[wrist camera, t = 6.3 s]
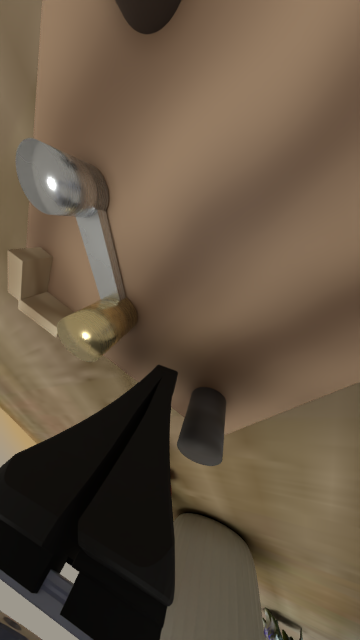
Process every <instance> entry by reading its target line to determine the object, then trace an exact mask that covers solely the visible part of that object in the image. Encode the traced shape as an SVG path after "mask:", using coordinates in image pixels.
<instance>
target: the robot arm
mask: <svg viewBox="0 0 360 640" xmlns="http://www.w3.org/2000/svg"><path fill="white" fill-rule="evenodd" d="M177 376H178V372H177V371H175V370H172V369H170V368H167V367H164V366H162V365H157V366H156V367H155V368H154V369H153V370H152V371H151V372H150V373H149V374H148V375H147V376H145V377H144V378H143V379H142V380H141V381H140V382H138V383H137V384H136V385H135V386H134V387H132V388H131V389H130V390H129V391H127V392H126V393H125V394H123V395H122V396H121V397H119V398H118V399H117V400H115V401H114V402H112V403H111V404H109V405H108V406H106V407H105V408H103V409H102V410H100V411H99V412H97V413H95V414H94V415H92V416H90V417H89V418H87V419H85V420H83V421H82V422H80V423H78V424H76V425H74V426H73V427H71V428H69V429H67V430H65V431H63V432H61V433H59V434H57V435H55V436H53V437H51V438H49V439H47V440H45V441H43V442H41V443H39V444H36V445H34V446H32V447H30V448H28V449H26V450H23V451H21V452H19V453H17V454H15V455H14V456H13V457H12V458H11V459H10V460H8V461H7V462H6V463H5V464H4V465H3V466H2V467H1V468H0V579H1V580H2V581H3V582H5V583H6V584H7V585H9V586H10V587H12V588H13V589H14V590H15V591H16V592H18V593H19V594H21V595H22V596H23V597H24V598H26V599H27V600H28V601H30V602H31V603H32V604H34V605H35V606H36V607H38V608H39V609H40V610H41V611H43V612H44V613H45V614H47V615H48V616H49V617H50V618H52V619H53V620H54V621H56V622H57V623H58V624H60V625H61V626H62V627H64V628H65V629H66V630H67V631H69V632H70V633H71V634H73V635H74V636H75V637H77V638H78V639H79V640H160V636H161V631H162V628H163V626H164V622H165V616H166V611H167V606H170V605H171V604H172V603H173V600H174V592H175V536H174V525H173V512H172V499H171V482H170V453H169V436H170V413H171V402H172V396H173V393H174V389H175V385H176V381H177ZM66 562H67V563H68V564H70V565H71V566H72V567H73V568H74V569H76V570H77V571H79V574H78V576H77V578H76V580H75V583H74V584H73V583H72V582H71V581H69V580H68V579H66V578H65V577H63V576H62V575H60V572H61V570H62V568H63V566H64V564H65V563H66ZM0 640H42V639H41V638H39V637H38V636H37V635H35V634H34V633H32V632H31V631H29V630H28V629H27V628H25V627H24V626H22V625H21V624H19V623H18V622H16V621H15V620H13V619H12V618H10V617H9V616H7V615H6V614H4V613H2V612H1V611H0Z"/></svg>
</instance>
